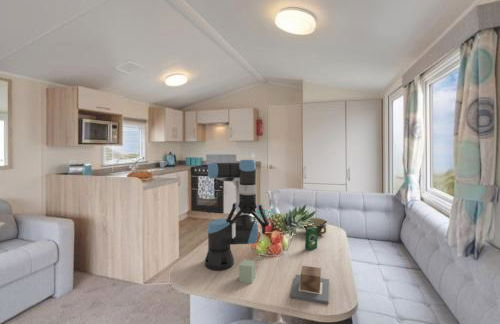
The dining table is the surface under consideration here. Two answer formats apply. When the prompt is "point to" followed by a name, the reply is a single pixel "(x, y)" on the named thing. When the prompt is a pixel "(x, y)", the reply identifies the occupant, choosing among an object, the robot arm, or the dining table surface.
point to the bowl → (318, 224)
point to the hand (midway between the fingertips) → (247, 238)
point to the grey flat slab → (309, 295)
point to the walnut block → (310, 279)
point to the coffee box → (311, 238)
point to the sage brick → (247, 271)
